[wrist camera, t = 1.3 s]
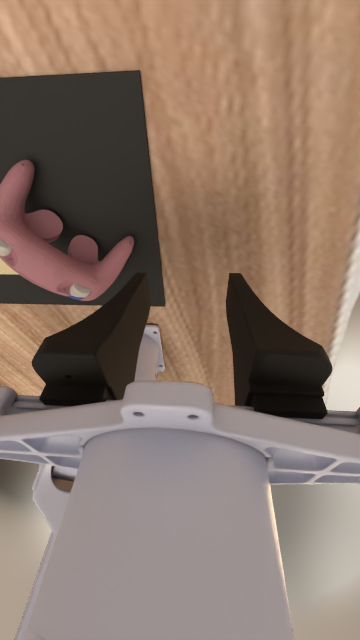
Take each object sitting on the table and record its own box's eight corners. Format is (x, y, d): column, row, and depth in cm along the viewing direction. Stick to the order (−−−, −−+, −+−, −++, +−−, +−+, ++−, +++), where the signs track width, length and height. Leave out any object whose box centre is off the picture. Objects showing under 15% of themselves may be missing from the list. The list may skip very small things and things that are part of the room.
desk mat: (165, 304, 27) (165, 306, 27) (-55, 300, 29) (-57, 302, 29) (140, 70, 14) (139, 70, 14) (-253, 91, 16) (-259, 92, 16)
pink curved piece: (20, 186, 20) (-37, 250, 18) (20, 145, 16) (-52, 221, 14) (124, 257, 24) (89, 318, 22) (143, 238, 21) (104, 309, 18)
